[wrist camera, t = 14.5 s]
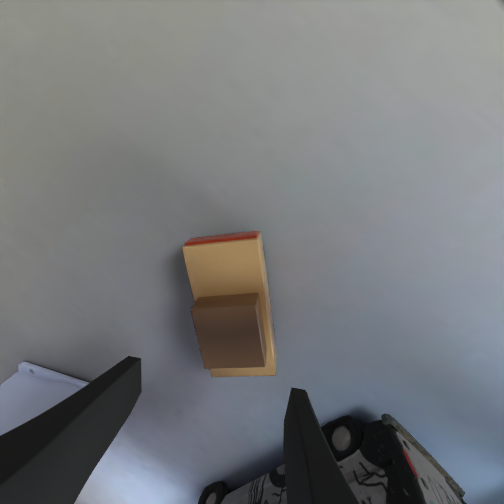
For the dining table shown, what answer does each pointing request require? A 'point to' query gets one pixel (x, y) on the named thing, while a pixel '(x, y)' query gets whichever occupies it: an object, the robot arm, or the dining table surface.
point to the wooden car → (232, 304)
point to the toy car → (361, 469)
